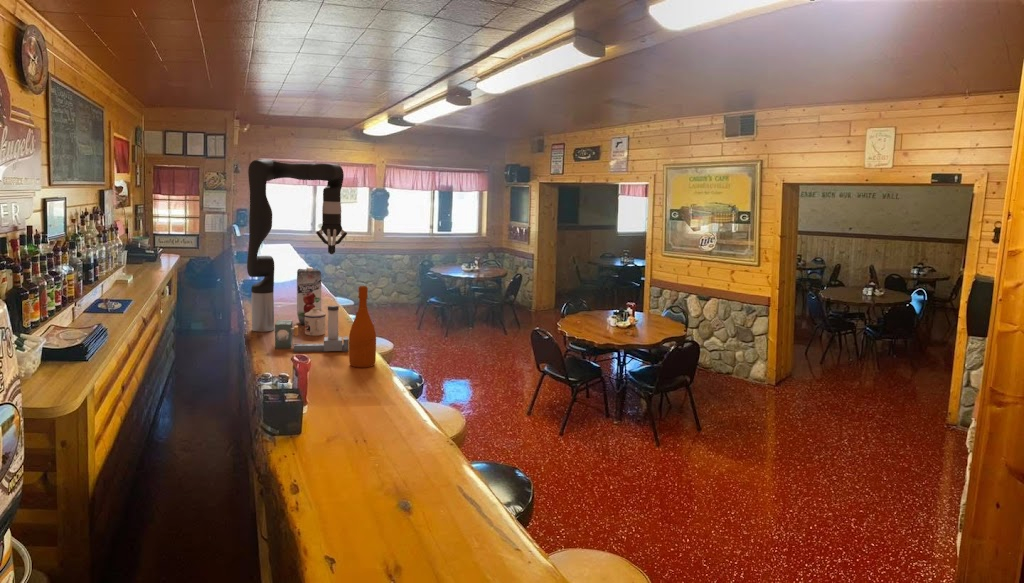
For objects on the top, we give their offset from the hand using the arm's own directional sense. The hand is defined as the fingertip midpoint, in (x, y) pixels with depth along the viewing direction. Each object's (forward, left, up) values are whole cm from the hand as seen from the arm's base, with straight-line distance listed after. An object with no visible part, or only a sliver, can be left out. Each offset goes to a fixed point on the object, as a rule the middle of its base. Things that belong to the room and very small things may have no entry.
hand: (331, 253), depth 271 cm
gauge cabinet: (+10, -19, -37) cm, 43 cm away
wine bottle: (+40, +12, -37) cm, 56 cm away
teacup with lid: (-10, -7, -37) cm, 39 cm away
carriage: (+18, +1, -37) cm, 41 cm away
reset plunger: (+10, -18, -32) cm, 38 cm away
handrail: (+18, -5, -37) cm, 41 cm away
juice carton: (-33, -11, -37) cm, 51 cm away
